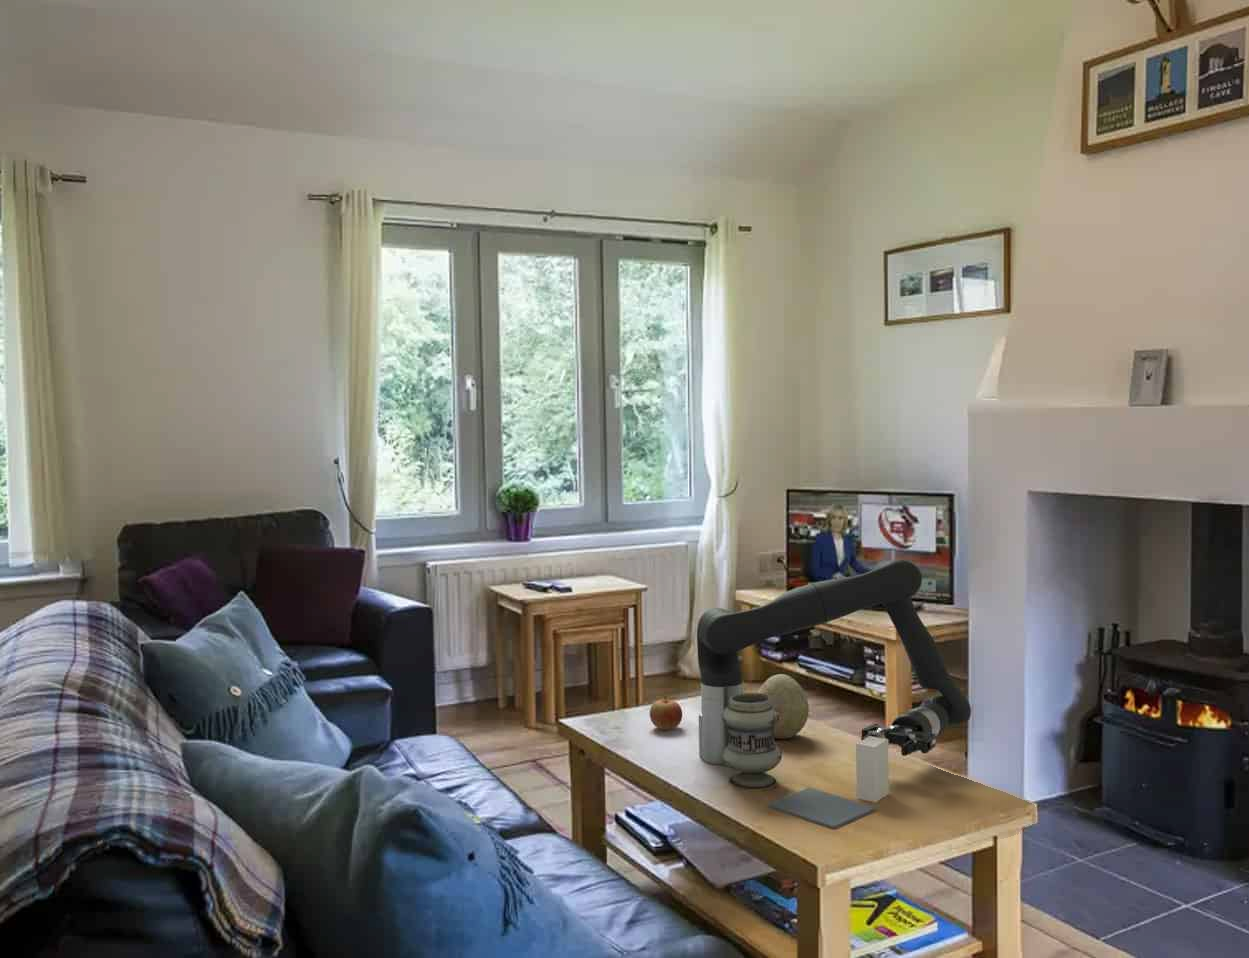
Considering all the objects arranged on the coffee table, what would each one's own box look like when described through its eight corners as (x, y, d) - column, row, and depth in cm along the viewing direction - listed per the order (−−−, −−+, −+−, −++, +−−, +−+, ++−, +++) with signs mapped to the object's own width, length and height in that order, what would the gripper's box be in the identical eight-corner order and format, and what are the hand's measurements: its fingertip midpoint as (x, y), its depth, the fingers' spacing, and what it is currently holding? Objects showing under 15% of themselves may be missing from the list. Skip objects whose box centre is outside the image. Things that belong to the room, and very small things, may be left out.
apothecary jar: (713, 778, 221) (711, 694, 220) (762, 769, 226) (761, 686, 225) (741, 796, 210) (739, 707, 209) (793, 787, 215) (791, 700, 214)
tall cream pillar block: (856, 798, 208) (855, 743, 207) (870, 789, 212) (869, 735, 212) (875, 802, 205) (874, 747, 205) (888, 793, 210) (888, 739, 209)
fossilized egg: (743, 736, 250) (742, 673, 250) (783, 726, 257) (782, 665, 257) (779, 749, 240) (778, 684, 239) (820, 738, 247) (819, 675, 246)
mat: (767, 806, 205) (767, 803, 205) (809, 789, 213) (809, 787, 213) (833, 828, 193) (833, 826, 193) (875, 810, 201) (875, 807, 201)
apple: (647, 724, 262) (647, 693, 261) (679, 722, 263) (678, 691, 262) (652, 734, 254) (651, 701, 253) (684, 732, 255) (684, 699, 254)
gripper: (884, 705, 229) (850, 723, 217) (948, 715, 220) (916, 734, 208) (885, 739, 230) (851, 759, 217) (948, 751, 221) (916, 772, 208)
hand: (883, 747), depth 212 cm, fingers open, 8 cm apart
